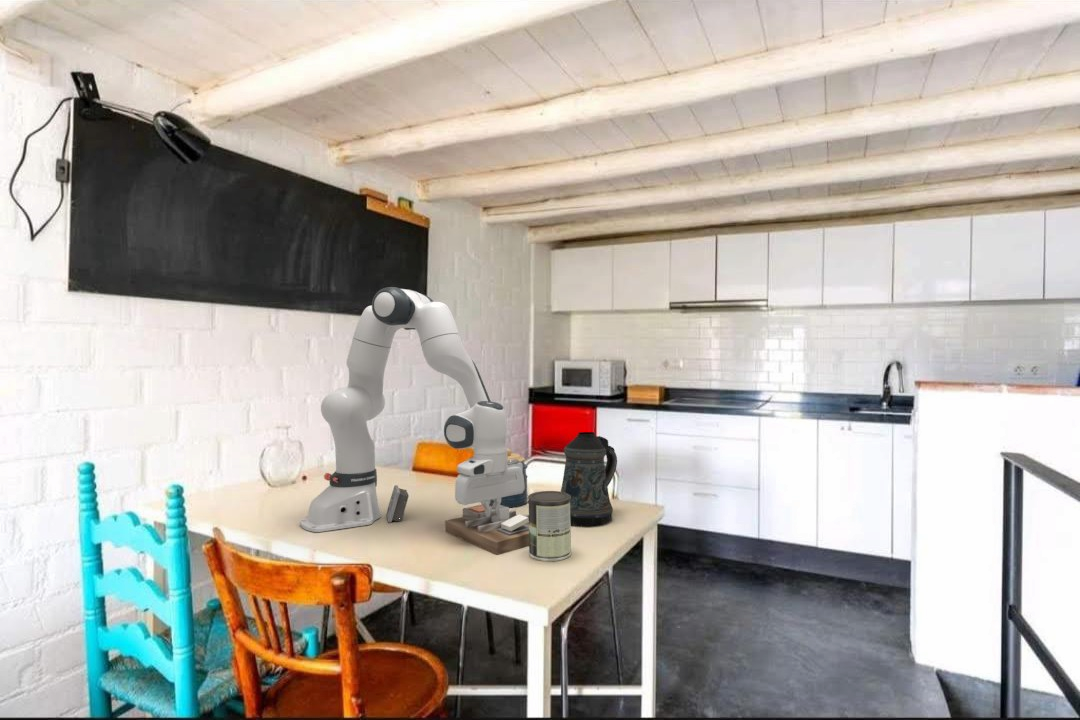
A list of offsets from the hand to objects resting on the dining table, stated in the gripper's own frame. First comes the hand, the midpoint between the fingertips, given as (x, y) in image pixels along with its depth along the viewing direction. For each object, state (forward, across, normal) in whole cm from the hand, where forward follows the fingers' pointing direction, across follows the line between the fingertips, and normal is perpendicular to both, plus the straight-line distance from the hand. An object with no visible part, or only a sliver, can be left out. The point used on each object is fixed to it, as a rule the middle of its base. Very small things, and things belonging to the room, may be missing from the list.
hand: (491, 515), depth 153 cm
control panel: (+6, -2, 0) cm, 6 cm away
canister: (+6, -24, -25) cm, 35 cm away
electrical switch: (+6, +11, -33) cm, 35 cm away
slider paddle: (+3, -3, 0) cm, 4 cm away
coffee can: (+6, -3, +20) cm, 21 cm away
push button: (+2, -2, -8) cm, 8 cm away
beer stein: (+6, -31, +4) cm, 32 cm away
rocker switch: (+1, -2, +7) cm, 8 cm away
